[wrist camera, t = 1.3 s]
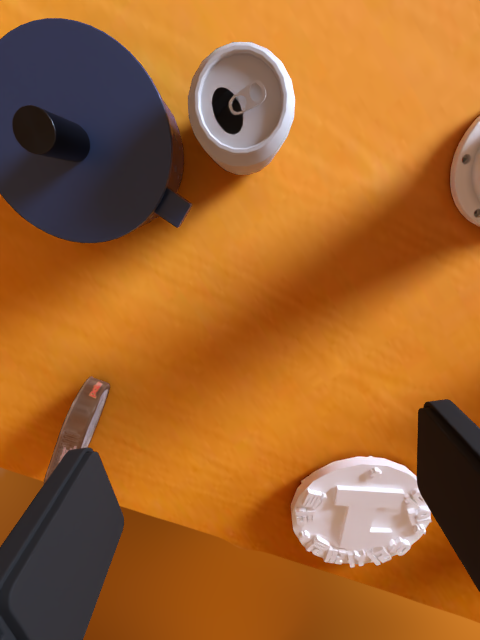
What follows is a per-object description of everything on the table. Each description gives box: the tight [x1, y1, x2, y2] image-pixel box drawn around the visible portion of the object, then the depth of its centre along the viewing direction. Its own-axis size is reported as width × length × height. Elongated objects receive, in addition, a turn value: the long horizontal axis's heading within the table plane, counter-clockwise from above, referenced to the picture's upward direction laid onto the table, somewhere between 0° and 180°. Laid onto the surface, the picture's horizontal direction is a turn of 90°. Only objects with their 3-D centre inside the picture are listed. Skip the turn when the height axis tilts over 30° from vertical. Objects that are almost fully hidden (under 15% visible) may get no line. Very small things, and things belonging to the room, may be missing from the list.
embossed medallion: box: [291, 456, 431, 568], centre depth 48 cm, size 20×20×3 cm
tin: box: [44, 376, 110, 484], centre depth 41 cm, size 15×3×8 cm, turn 155°
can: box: [188, 42, 295, 175], centre depth 27 cm, size 8×8×12 cm
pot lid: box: [0, 18, 173, 243], centre depth 24 cm, size 16×16×6 cm
